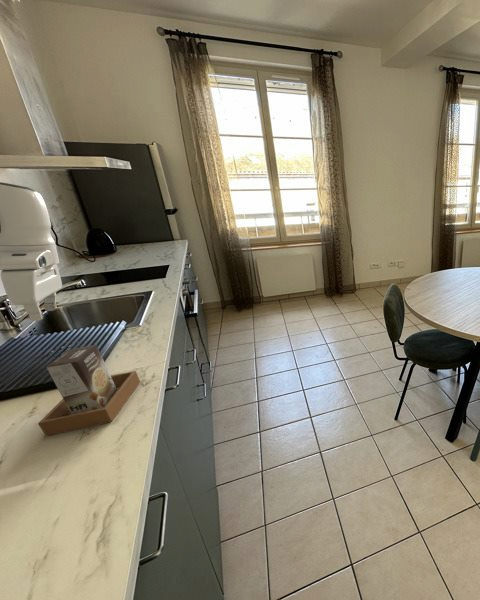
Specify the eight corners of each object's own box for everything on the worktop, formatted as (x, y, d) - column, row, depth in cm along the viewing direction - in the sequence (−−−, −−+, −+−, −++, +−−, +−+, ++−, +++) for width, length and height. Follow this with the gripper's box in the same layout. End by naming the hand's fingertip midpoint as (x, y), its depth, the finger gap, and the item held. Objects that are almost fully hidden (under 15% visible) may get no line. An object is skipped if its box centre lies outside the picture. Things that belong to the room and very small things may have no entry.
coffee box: (103, 414, 85) (76, 361, 79) (73, 420, 83) (44, 367, 77) (119, 393, 93) (96, 344, 87) (93, 398, 92) (67, 348, 85)
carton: (45, 436, 79) (37, 423, 77) (86, 392, 94) (80, 381, 93) (111, 421, 82) (105, 409, 81) (140, 381, 98) (135, 370, 96)
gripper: (28, 253, 82) (41, 306, 85) (-12, 263, 65) (6, 328, 69) (63, 252, 85) (74, 303, 89) (33, 261, 69) (48, 324, 72)
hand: (44, 314), depth 79 cm, fingers open, 8 cm apart
